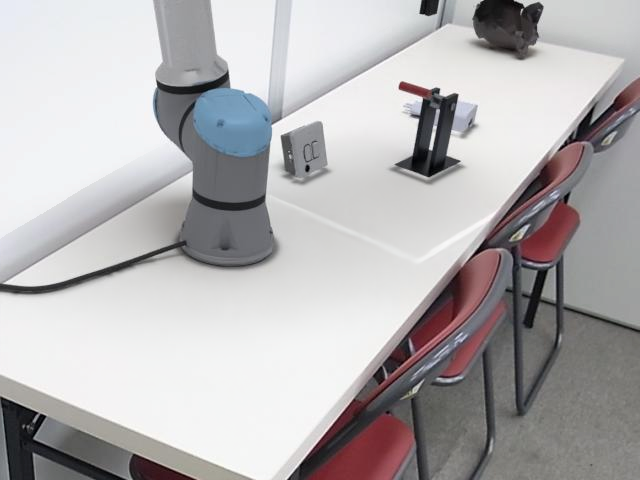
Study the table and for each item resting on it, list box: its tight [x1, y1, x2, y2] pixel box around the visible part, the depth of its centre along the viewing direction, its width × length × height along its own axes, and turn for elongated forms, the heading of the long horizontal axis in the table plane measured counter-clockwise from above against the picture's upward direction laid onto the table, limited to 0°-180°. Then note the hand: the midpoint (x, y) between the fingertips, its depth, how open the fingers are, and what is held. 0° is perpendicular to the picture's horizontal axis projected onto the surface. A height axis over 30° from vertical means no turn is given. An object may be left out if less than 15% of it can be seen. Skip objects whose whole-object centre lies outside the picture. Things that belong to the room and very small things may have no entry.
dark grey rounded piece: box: [471, 0, 545, 57], centre depth 245 cm, size 14×15×20 cm
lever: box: [398, 80, 445, 110], centre depth 167 cm, size 13×6×2 cm, turn 139°
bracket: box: [394, 86, 462, 178], centre depth 175 cm, size 12×8×15 cm, turn 139°
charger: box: [402, 100, 479, 133], centre depth 198 cm, size 5×9×15 cm
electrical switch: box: [280, 120, 328, 179], centre depth 171 cm, size 9×5×9 cm, turn 141°
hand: (428, 13), depth 155 cm, fingers closed
